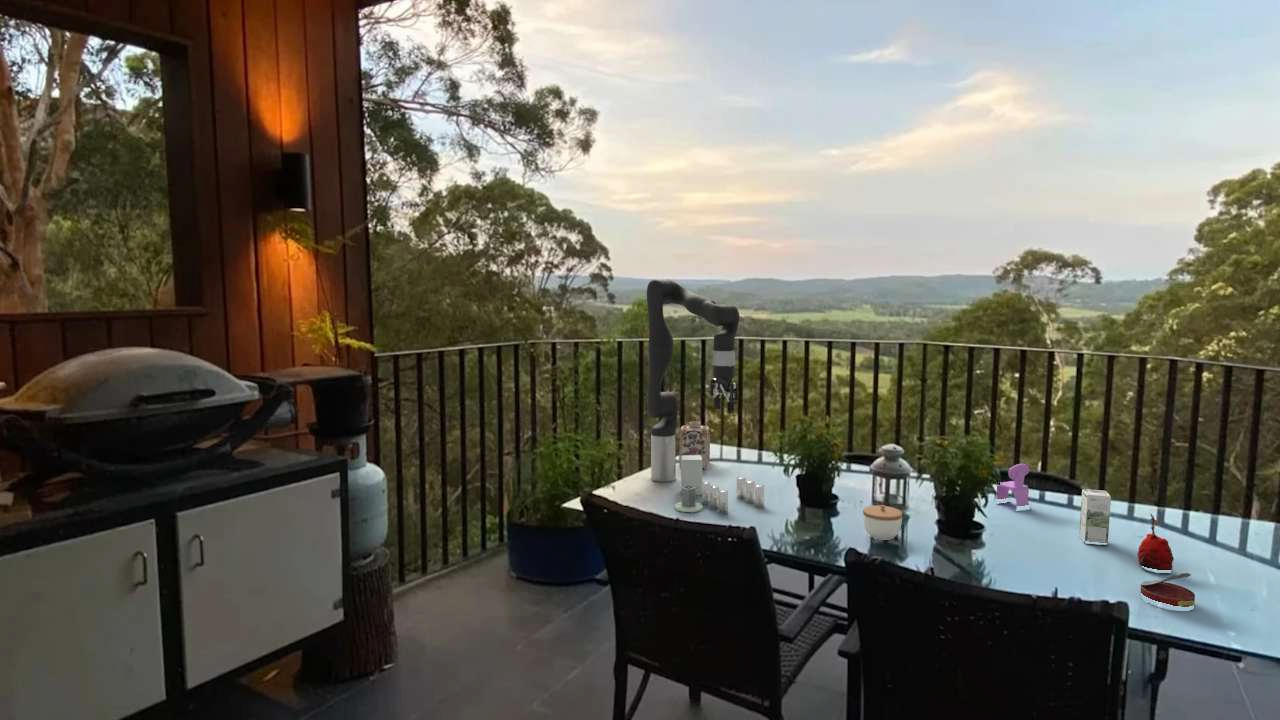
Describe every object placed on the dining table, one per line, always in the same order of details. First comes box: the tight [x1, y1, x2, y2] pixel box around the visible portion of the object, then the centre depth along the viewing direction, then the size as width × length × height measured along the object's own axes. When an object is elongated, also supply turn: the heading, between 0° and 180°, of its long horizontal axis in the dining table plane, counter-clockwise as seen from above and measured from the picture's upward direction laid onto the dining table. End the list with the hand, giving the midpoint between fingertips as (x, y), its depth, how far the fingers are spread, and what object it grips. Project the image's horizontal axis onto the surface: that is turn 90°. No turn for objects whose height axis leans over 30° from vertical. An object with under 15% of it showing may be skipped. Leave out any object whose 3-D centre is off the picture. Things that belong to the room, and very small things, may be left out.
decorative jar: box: [678, 421, 711, 470], centre depth 286 cm, size 12×12×18 cm
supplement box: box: [680, 455, 703, 496], centre depth 248 cm, size 7×7×13 cm
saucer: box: [674, 501, 703, 514], centre depth 230 cm, size 9×9×1 cm
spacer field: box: [700, 476, 765, 515], centre depth 233 cm, size 14×17×7 cm
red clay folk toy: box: [1137, 513, 1174, 571], centre depth 176 cm, size 8×7×15 cm
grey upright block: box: [681, 485, 696, 508], centre depth 229 cm, size 4×5×6 cm
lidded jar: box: [862, 504, 903, 541], centre depth 201 cm, size 11×11×9 cm
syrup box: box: [1078, 488, 1112, 544], centre depth 196 cm, size 6×6×14 cm
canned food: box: [1140, 572, 1196, 607], centre depth 158 cm, size 11×10×10 cm
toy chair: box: [996, 463, 1030, 507], centre depth 228 cm, size 8×9×15 cm
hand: (723, 411), depth 239 cm, fingers open, 8 cm apart
